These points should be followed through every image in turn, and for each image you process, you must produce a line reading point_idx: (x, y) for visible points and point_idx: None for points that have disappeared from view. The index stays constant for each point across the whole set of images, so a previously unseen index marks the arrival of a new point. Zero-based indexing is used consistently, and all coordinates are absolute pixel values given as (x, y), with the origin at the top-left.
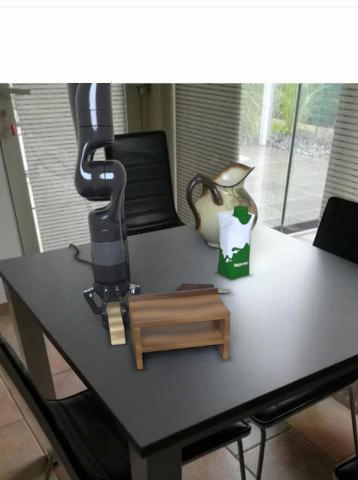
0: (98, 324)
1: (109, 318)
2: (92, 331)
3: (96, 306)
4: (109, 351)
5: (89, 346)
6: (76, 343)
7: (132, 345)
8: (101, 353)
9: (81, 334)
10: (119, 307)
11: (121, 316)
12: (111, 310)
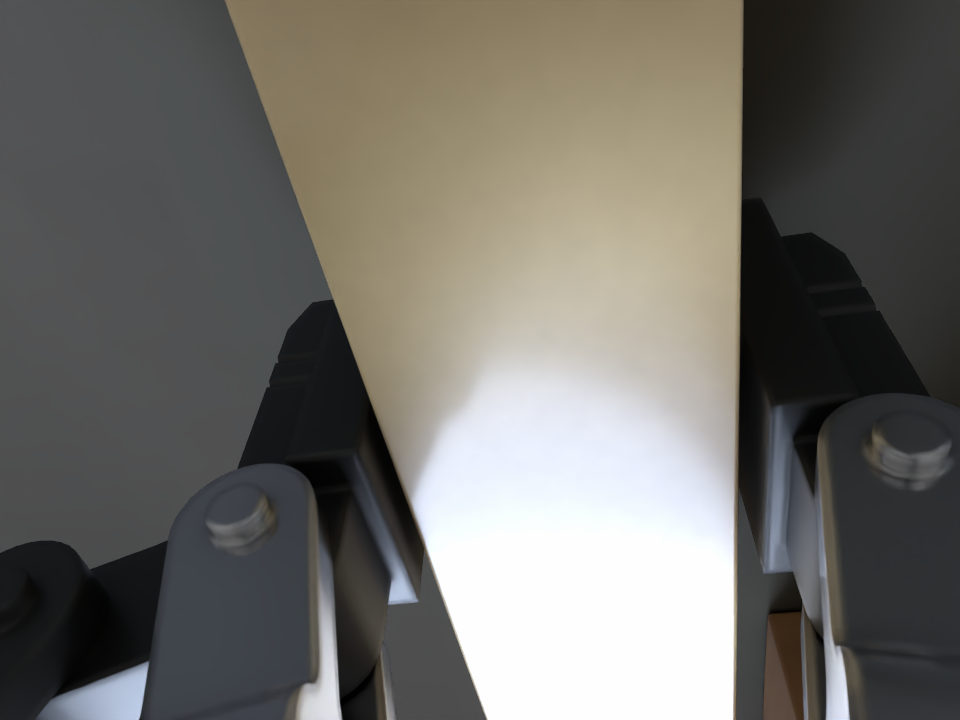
0: (139, 6)
1: (466, 597)
2: (142, 286)
3: (38, 696)
4: None
5: None
6: (73, 548)
7: (773, 690)
8: (431, 695)
9: (9, 363)
10: (735, 30)
11: (735, 545)
12: (456, 258)
